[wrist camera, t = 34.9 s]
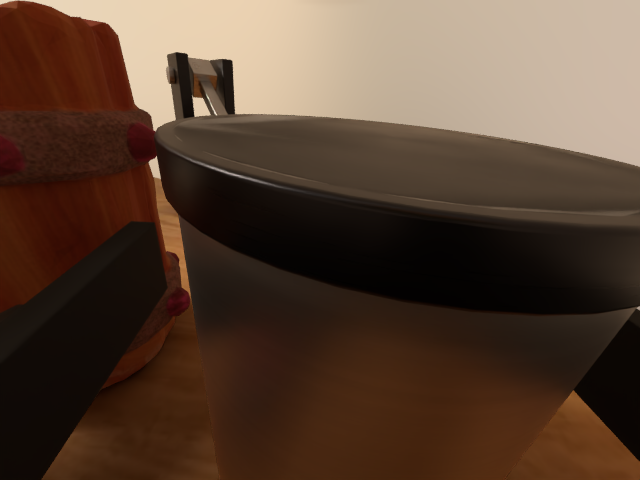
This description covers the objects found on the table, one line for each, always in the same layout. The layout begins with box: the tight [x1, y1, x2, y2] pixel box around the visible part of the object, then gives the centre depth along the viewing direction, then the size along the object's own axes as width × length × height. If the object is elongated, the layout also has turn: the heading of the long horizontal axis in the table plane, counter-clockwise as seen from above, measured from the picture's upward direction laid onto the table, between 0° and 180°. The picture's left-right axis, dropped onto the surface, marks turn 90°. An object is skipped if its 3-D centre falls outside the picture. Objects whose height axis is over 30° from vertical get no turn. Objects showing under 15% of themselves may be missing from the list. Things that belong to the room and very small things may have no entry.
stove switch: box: [166, 52, 235, 120], centre depth 31 cm, size 7×8×15 cm
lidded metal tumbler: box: [154, 114, 640, 480], centre depth 8 cm, size 8×8×12 cm
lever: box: [188, 58, 228, 115], centre depth 26 cm, size 14×4×4 cm, turn 34°
